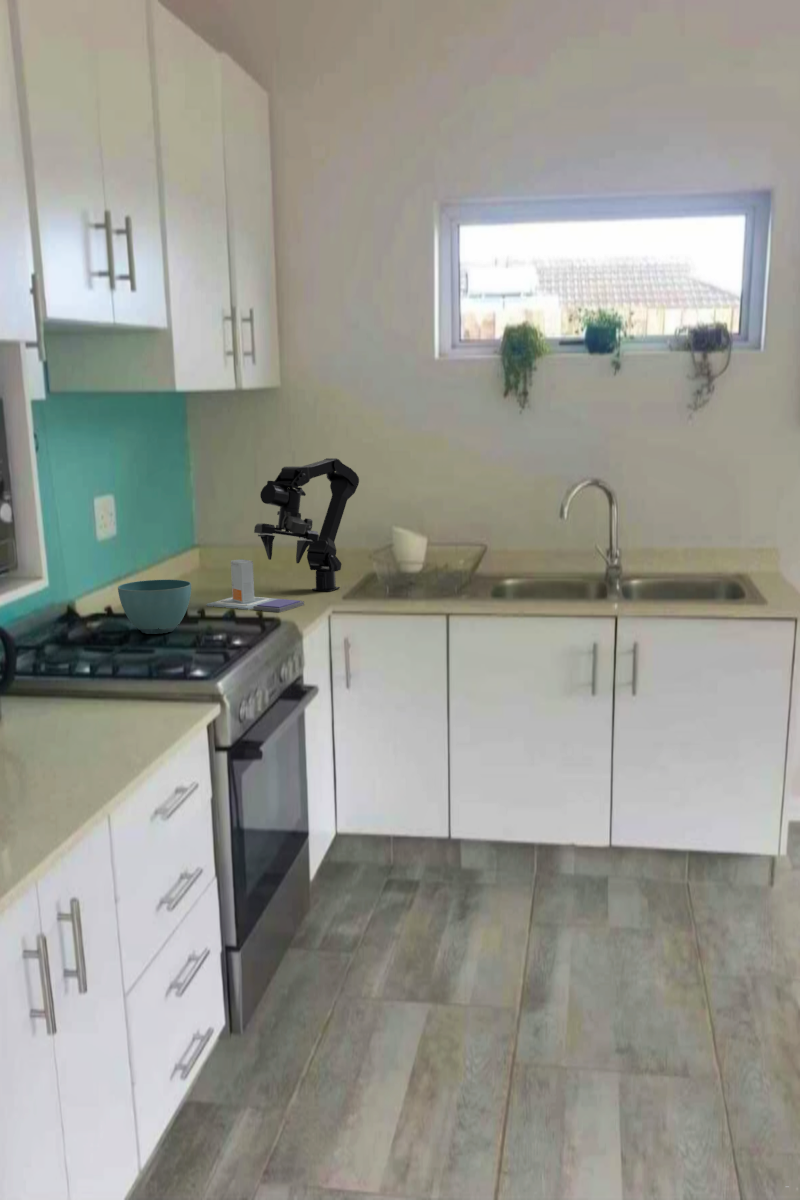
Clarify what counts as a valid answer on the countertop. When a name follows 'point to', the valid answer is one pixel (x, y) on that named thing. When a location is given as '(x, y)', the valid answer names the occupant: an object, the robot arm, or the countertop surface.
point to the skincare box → (242, 581)
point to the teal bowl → (155, 602)
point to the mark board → (234, 604)
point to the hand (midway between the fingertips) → (283, 561)
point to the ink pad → (279, 605)
